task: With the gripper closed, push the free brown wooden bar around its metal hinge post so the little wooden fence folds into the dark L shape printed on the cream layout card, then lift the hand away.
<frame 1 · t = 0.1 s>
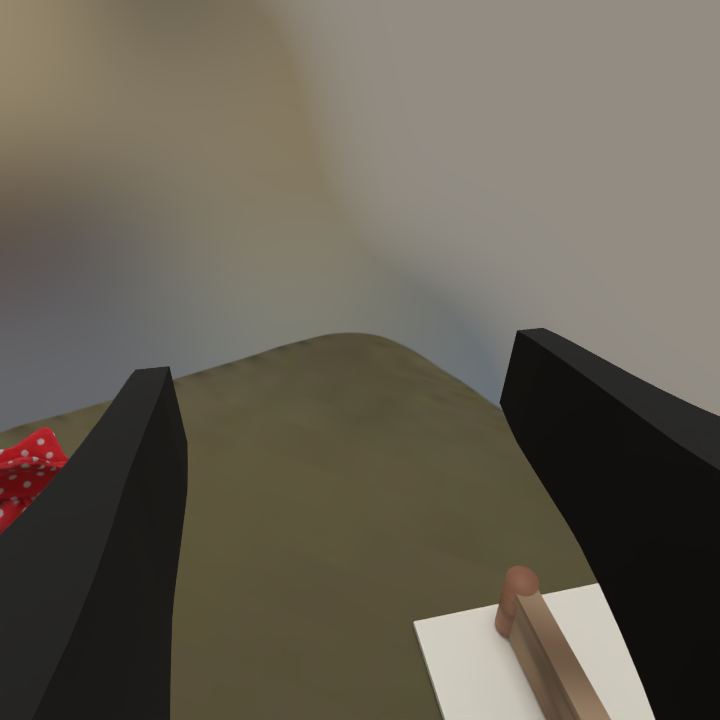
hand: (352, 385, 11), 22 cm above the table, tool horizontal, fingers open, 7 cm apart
bird rattle: (70, 596, 31), on the table
brown wooden bar: (553, 675, 24), point 3 cm above the table, hinge at 0.0°
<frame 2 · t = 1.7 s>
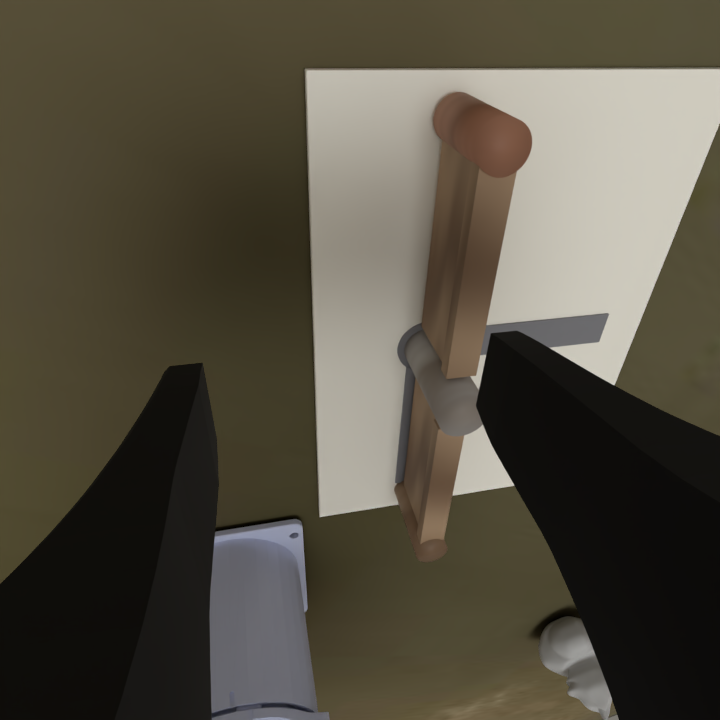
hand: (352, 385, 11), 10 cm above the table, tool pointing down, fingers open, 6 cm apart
brown wooden bar: (461, 245, 18), point 3 cm above the table, hinge at 0.0°
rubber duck: (563, 617, 46), on the table
fixed fence section: (425, 346, 24), resting on layout card
layout card: (483, 334, 25), on the table
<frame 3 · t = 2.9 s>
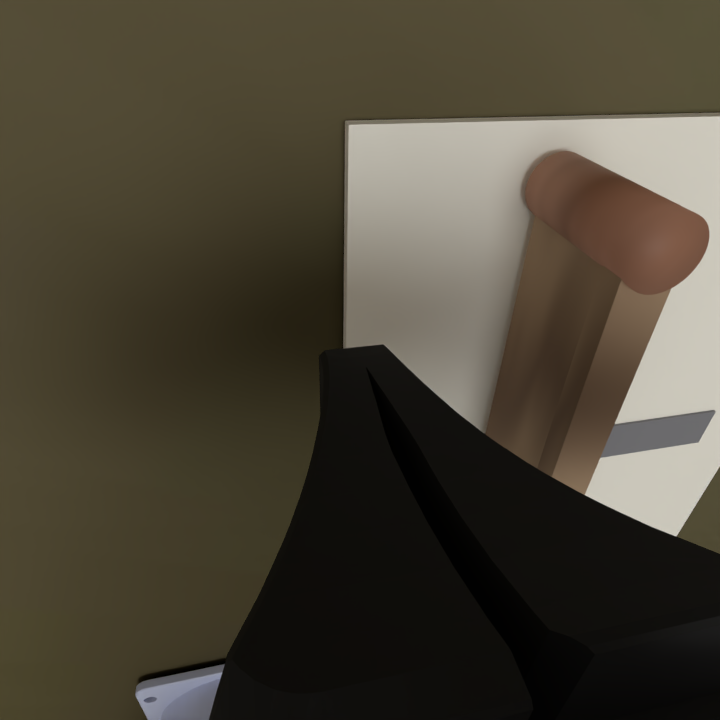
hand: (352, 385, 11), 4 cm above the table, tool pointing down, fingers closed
brown wooden bar: (559, 361, 13), point 3 cm above the table, hinge at 0.0°
layout card: (557, 439, 19), on the table
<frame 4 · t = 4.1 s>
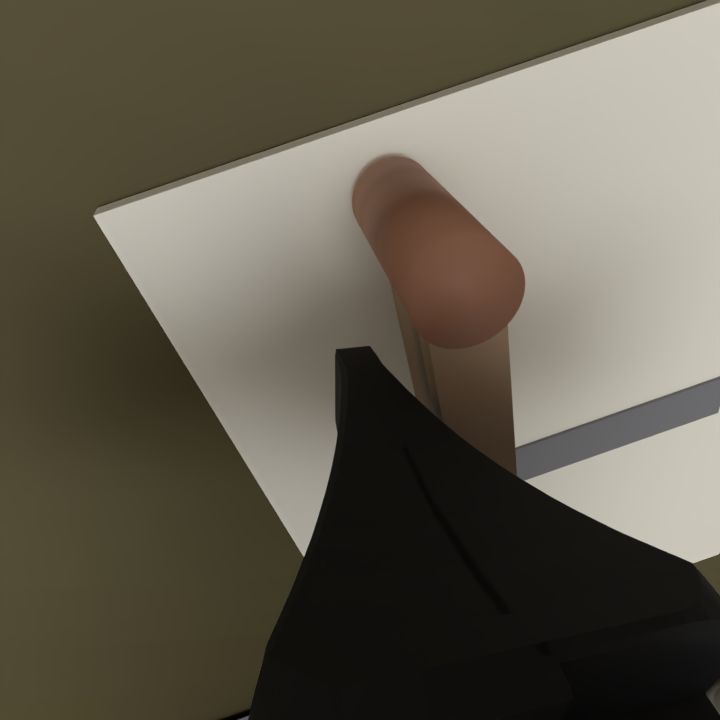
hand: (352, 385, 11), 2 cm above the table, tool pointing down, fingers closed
brown wooden bar: (450, 402, 11), point 3 cm above the table, hinge at 1.7°, touching gripper
layout card: (532, 447, 17), on the table
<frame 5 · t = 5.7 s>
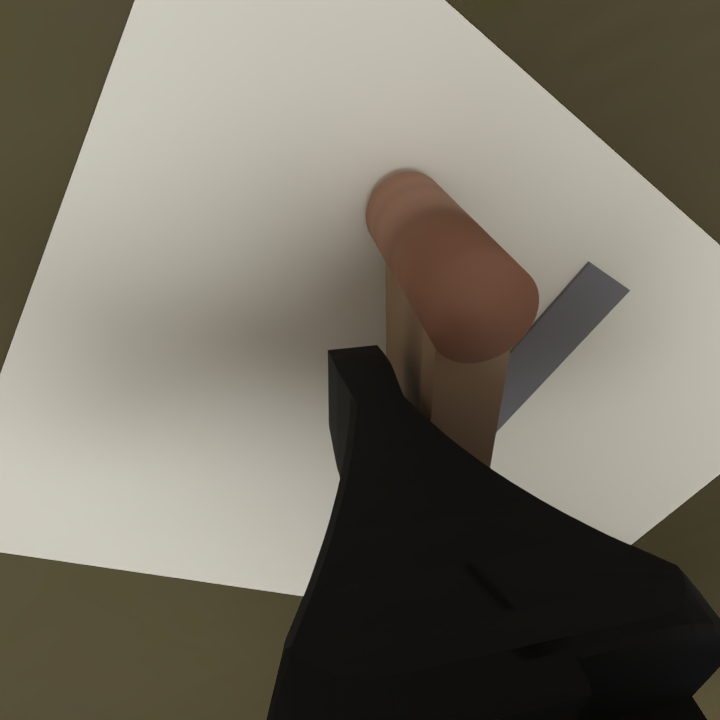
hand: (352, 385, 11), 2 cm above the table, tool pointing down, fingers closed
brown wooden bar: (427, 419, 11), point 3 cm above the table, hinge at 54.7°, touching gripper
layout card: (451, 433, 15), on the table
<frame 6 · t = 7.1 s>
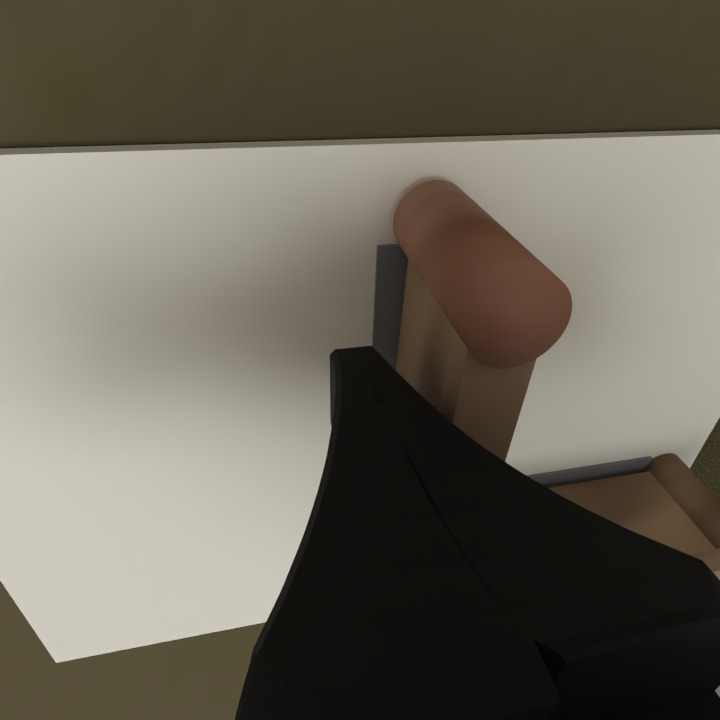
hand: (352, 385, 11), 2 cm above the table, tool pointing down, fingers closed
brown wooden bar: (437, 424, 11), point 3 cm above the table, hinge at 91.4°, touching gripper
fixed fence section: (388, 513, 16), resting on layout card
layout card: (391, 435, 15), on the table
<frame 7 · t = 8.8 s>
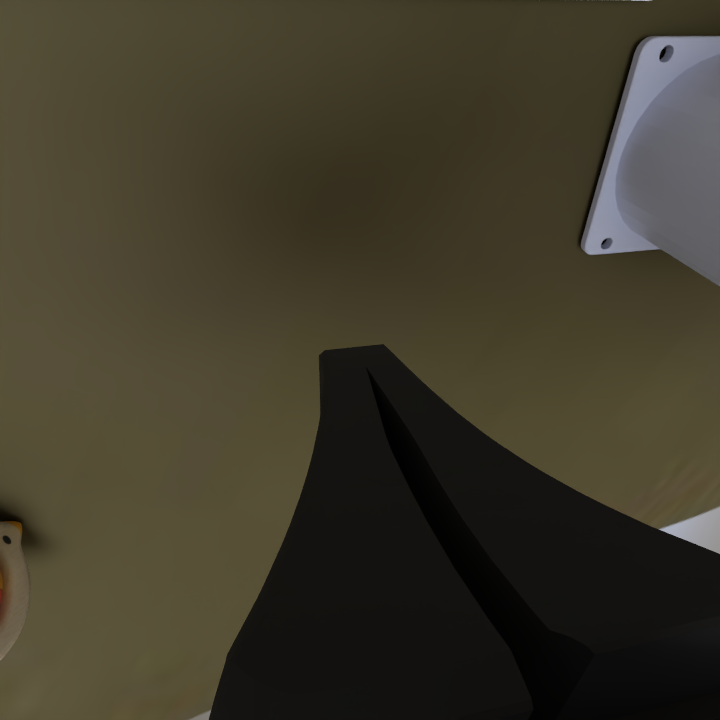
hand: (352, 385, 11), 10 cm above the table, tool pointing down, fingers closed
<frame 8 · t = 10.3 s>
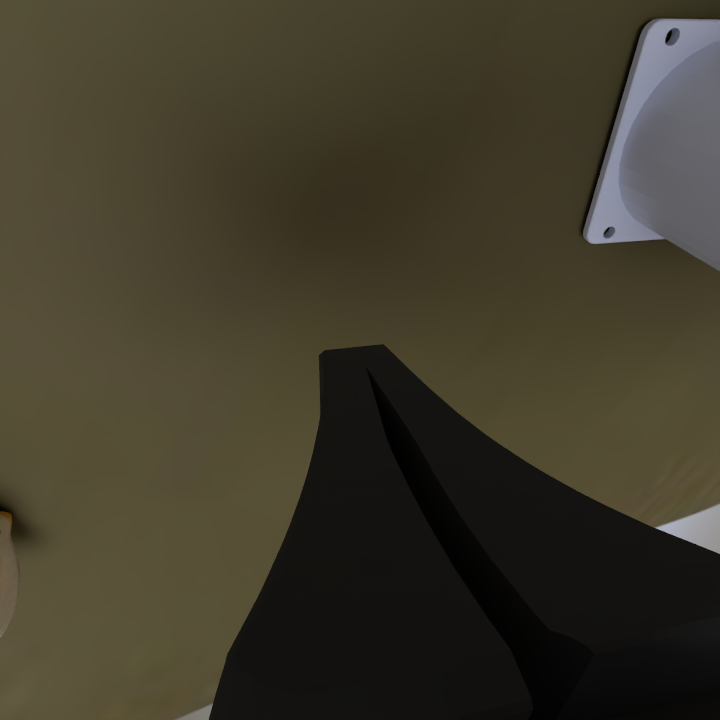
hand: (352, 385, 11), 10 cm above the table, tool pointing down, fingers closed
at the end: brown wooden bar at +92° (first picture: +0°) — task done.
